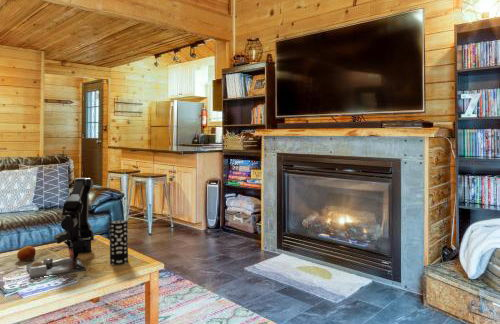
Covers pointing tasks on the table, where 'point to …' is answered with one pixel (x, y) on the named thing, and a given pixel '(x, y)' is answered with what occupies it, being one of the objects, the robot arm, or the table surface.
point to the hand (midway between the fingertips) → (73, 257)
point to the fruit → (26, 253)
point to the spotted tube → (118, 242)
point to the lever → (50, 262)
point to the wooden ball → (37, 264)
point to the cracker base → (56, 269)
